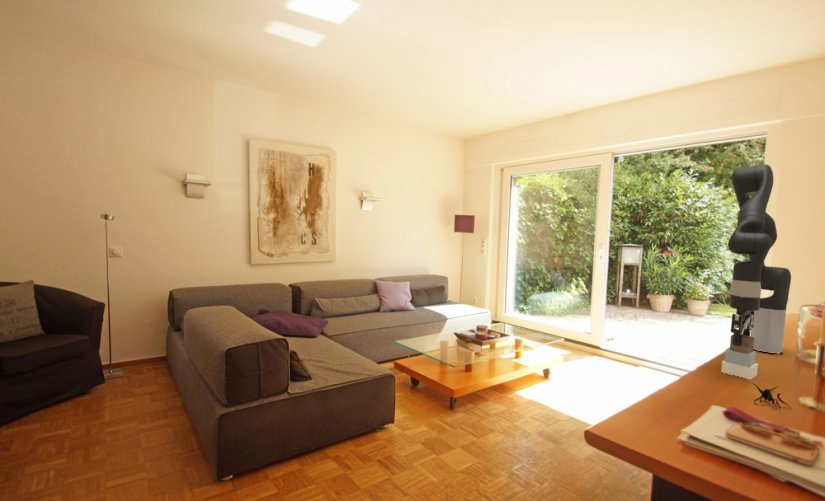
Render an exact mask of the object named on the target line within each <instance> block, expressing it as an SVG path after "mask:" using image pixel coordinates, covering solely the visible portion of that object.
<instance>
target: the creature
mask: <svg viewBox="0 0 825 501" xmlns="http://www.w3.org/2000/svg"><path fill="white" fill-rule="evenodd" d="M751 384H752V385H754V386H755V387H756V389H757V390H758V391H759V393H760V394H761V395H760V396H759V397H757V398H756V399H754V404H755V405H756V406H757V407H759V405H758V404H757V403H756V402H757V401H758V400H759V403H761V404H762V399H763V400H764V401H768V402H771V403H772V405H774V406H775V409H776V410H778V409H779V410H781V409H785V407H784V408H782V407H781V405H780V404H779V402H781V403H782V404H784V405H786V406H789V410H791V409H792V408H791V406H790V405H789V404H787V402H784V401H783V400H782V399H781V397H780V395H781V393H779V392H778V393H777V395H776V397H777V398H778V399H777V398H774V397H773V394H774V392H775V389H776V388H778V387H779V385H777V386H775V387H772V388H771V389H769V388H766V389H764V390H762V389H761V388H760V387H759V386H757V385H756V383H754V382H751ZM778 401H779V402H778ZM775 402H776V403H775ZM763 406H764V404H762V405H761V407H763Z"/></svg>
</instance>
